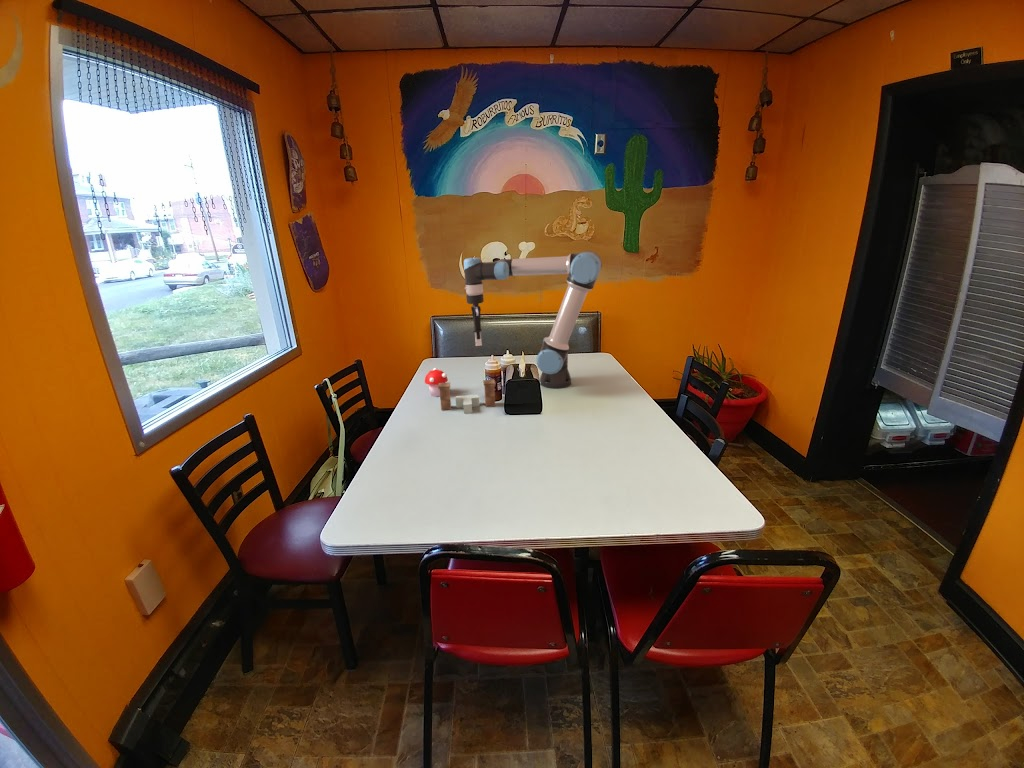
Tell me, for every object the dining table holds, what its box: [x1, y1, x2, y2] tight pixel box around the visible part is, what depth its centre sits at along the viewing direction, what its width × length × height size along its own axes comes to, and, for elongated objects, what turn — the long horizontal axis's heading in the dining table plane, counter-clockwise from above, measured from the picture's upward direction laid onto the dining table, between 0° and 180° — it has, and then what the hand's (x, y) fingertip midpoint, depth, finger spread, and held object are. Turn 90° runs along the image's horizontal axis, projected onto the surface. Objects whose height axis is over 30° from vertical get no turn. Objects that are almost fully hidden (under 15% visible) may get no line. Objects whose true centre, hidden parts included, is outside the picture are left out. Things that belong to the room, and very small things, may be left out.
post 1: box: [438, 381, 452, 411], centre depth 190 cm, size 5×5×11 cm
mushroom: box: [424, 367, 449, 398], centre depth 206 cm, size 11×11×12 cm
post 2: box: [482, 379, 496, 408], centre depth 192 cm, size 5×5×11 cm
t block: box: [455, 394, 480, 415], centre depth 190 cm, size 10×10×4 cm
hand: (478, 345), depth 206 cm, fingers closed
